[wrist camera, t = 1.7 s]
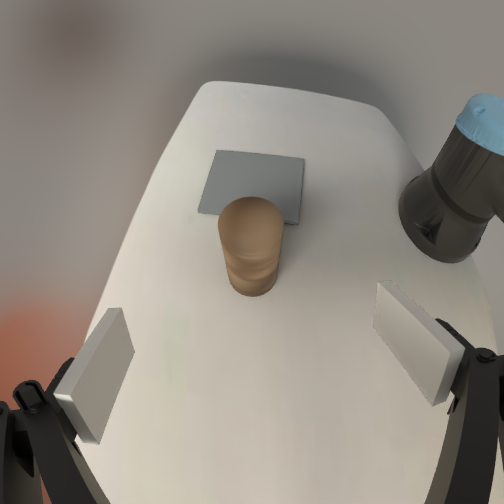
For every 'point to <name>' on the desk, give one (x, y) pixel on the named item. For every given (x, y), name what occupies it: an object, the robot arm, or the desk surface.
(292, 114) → the desk surface
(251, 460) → the desk surface
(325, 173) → the desk surface
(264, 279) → the walnut canister
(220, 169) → the slate mat
